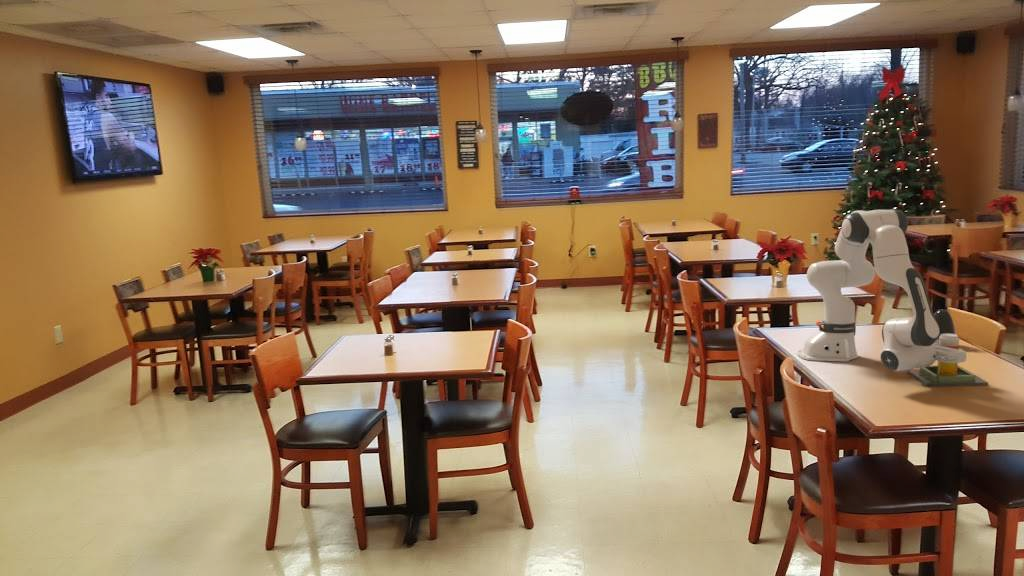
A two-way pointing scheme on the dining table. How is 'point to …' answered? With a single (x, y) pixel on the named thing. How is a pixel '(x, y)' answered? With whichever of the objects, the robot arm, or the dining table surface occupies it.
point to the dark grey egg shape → (944, 322)
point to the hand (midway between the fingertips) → (949, 348)
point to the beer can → (950, 342)
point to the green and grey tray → (946, 377)
